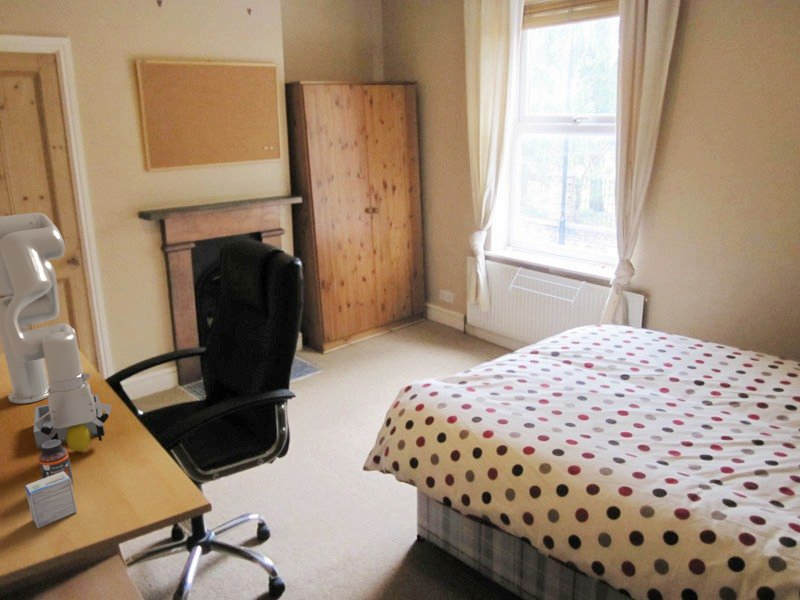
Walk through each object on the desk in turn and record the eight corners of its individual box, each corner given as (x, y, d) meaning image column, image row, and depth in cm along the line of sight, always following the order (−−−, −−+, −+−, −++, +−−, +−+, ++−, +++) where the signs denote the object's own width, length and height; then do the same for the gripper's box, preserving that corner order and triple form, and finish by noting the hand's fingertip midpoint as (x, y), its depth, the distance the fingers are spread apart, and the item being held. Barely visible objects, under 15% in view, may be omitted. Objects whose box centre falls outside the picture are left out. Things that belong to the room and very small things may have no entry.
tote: (38, 423, 178) (35, 407, 176) (101, 409, 185) (98, 394, 183) (37, 449, 164) (33, 432, 163) (104, 433, 171) (101, 417, 170)
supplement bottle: (54, 497, 144) (45, 453, 140) (39, 489, 147) (30, 446, 143) (79, 484, 149) (70, 441, 145) (64, 477, 152) (55, 434, 148)
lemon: (98, 448, 164) (92, 420, 161) (79, 459, 159) (73, 430, 157) (82, 444, 166) (77, 416, 164) (64, 454, 161) (58, 426, 159)
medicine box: (71, 504, 141) (64, 470, 139) (78, 512, 138) (70, 478, 135) (31, 520, 136) (23, 484, 133) (38, 529, 133) (29, 493, 130)
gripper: (104, 369, 164) (115, 428, 169) (27, 384, 156) (41, 445, 161) (106, 379, 157) (117, 441, 162) (26, 395, 150) (40, 459, 155)
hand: (79, 443), depth 162 cm, fingers open, 9 cm apart
